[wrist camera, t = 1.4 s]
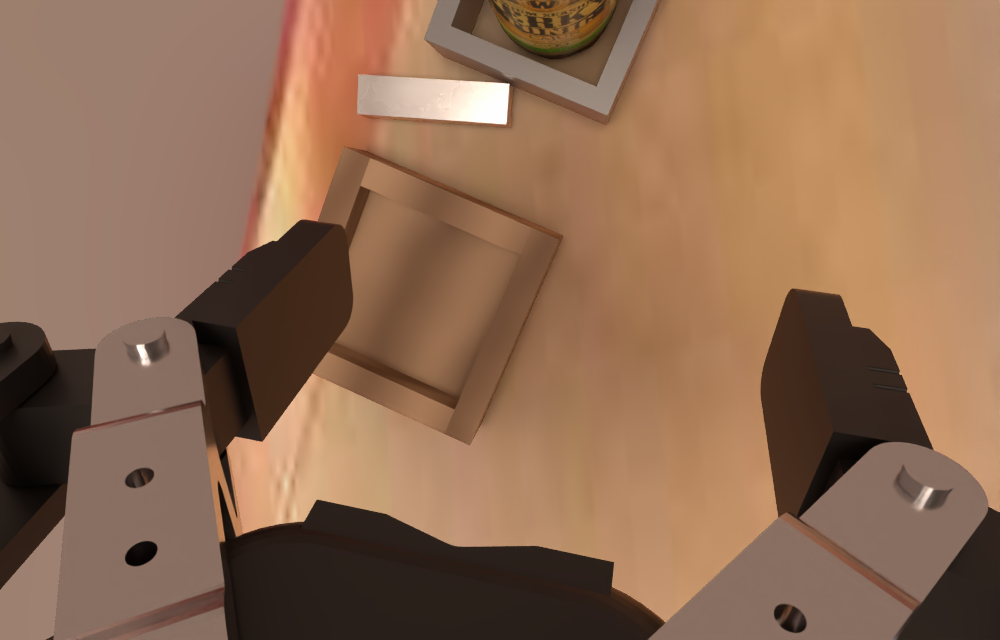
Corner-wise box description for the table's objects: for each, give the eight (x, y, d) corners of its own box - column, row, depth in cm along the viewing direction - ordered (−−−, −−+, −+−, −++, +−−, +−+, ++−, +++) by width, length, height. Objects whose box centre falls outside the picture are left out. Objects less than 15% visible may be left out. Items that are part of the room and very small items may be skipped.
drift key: (514, 89, 36) (509, 83, 34) (511, 127, 36) (506, 124, 34) (371, 80, 37) (358, 74, 35) (369, 118, 37) (357, 114, 35)
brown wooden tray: (562, 236, 37) (559, 239, 33) (480, 425, 39) (469, 445, 36) (365, 150, 37) (344, 146, 34) (297, 342, 40) (271, 354, 37)
